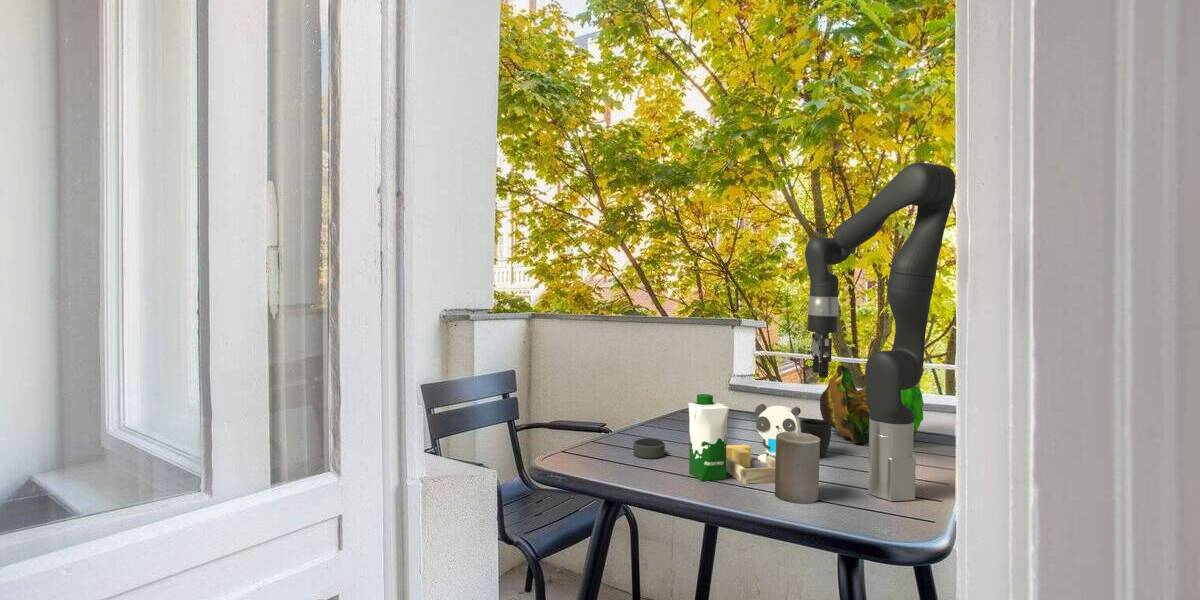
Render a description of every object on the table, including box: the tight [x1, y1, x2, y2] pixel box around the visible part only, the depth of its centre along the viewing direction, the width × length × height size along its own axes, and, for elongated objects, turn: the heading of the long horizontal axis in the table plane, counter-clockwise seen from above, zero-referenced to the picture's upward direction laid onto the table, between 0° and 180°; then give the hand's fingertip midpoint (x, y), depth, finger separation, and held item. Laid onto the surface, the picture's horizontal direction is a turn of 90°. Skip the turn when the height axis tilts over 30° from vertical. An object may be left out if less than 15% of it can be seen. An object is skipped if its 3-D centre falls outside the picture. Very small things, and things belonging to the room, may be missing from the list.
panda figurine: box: [754, 403, 802, 464], centre depth 167 cm, size 12×11×15 cm
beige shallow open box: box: [726, 456, 775, 485], centre depth 153 cm, size 11×12×4 cm
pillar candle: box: [774, 431, 821, 504], centre depth 138 cm, size 10×10×15 cm
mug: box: [799, 418, 832, 459], centre depth 175 cm, size 8×12×10 cm
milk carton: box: [688, 393, 730, 482], centre depth 153 cm, size 9×9×20 cm
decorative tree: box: [819, 364, 925, 445], centre depth 191 cm, size 27×28×30 cm
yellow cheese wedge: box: [726, 444, 752, 469], centre depth 164 cm, size 8×8×4 cm
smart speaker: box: [632, 438, 666, 460], centre depth 172 cm, size 9×9×4 cm
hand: (819, 374), depth 160 cm, fingers open, 8 cm apart
